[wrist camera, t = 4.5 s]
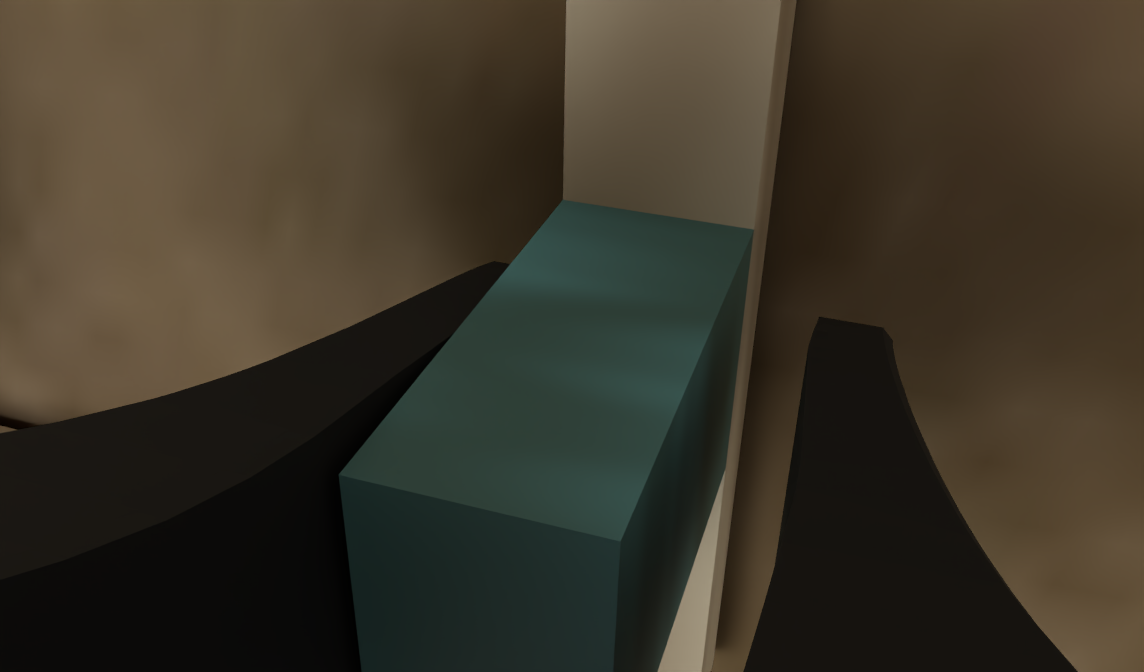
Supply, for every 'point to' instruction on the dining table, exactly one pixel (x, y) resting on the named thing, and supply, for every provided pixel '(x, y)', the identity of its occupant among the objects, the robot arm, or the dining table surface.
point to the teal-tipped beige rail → (591, 377)
